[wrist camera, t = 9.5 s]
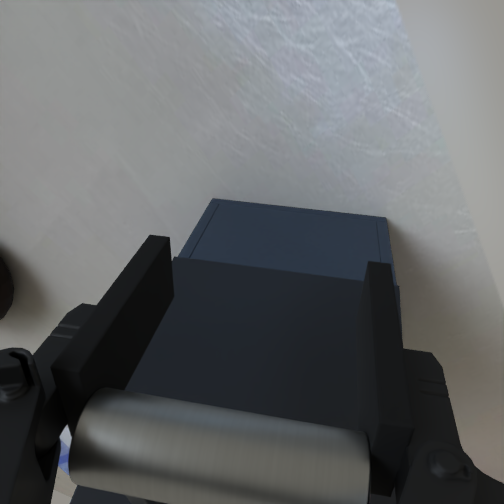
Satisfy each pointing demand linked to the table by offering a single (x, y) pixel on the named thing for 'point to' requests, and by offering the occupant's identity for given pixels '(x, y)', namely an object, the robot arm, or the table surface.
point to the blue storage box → (290, 239)
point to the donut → (5, 289)
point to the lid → (235, 398)
